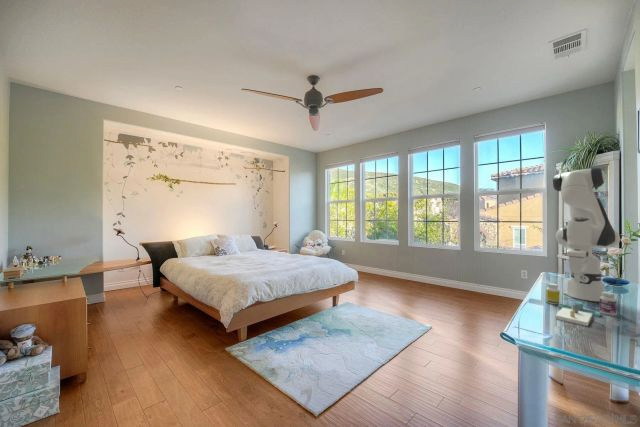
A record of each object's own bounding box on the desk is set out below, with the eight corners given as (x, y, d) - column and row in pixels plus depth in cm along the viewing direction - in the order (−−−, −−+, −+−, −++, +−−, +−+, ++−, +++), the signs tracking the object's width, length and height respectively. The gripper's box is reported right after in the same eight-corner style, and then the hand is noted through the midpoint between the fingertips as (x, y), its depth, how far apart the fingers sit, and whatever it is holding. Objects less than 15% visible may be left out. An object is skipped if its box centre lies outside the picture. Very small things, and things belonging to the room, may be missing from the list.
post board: (562, 310, 127) (562, 300, 127) (592, 317, 119) (592, 305, 119) (555, 318, 117) (555, 307, 117) (587, 326, 109) (587, 314, 109)
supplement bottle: (562, 305, 135) (562, 285, 135) (549, 304, 136) (550, 285, 136) (555, 301, 141) (555, 283, 141) (543, 300, 142) (543, 282, 142)
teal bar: (558, 308, 130) (558, 299, 130) (560, 306, 133) (560, 297, 133) (599, 317, 119) (599, 307, 119) (600, 314, 123) (600, 305, 123)
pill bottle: (599, 313, 124) (600, 292, 124) (598, 310, 128) (599, 290, 128) (617, 316, 120) (617, 295, 120) (615, 313, 124) (615, 293, 124)
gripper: (573, 249, 136) (573, 277, 135) (566, 252, 123) (565, 282, 122) (591, 251, 131) (591, 279, 130) (585, 253, 118) (585, 285, 117)
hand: (578, 281), depth 126 cm, fingers open, 8 cm apart
